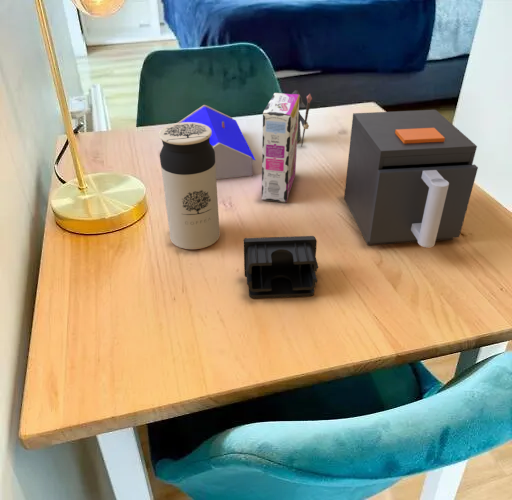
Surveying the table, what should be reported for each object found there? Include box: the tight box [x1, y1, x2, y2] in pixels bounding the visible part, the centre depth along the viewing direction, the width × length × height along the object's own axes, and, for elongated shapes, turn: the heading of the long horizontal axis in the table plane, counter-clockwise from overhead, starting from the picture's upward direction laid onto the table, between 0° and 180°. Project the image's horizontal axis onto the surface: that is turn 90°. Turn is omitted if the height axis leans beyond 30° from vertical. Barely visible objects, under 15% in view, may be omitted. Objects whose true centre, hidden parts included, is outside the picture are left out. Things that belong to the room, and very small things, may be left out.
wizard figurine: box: [291, 89, 313, 147], centre depth 110 cm, size 8×6×12 cm
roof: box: [177, 104, 256, 180], centre depth 105 cm, size 22×14×7 cm, turn 12°
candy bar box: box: [261, 92, 301, 203], centre depth 91 cm, size 11×5×16 cm, turn 168°
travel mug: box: [158, 122, 221, 250], centre depth 77 cm, size 8×8×18 cm
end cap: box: [243, 235, 319, 299], centre depth 70 cm, size 10×7×7 cm
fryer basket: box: [368, 164, 479, 249], centre depth 79 cm, size 20×14×12 cm
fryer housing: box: [343, 109, 478, 246], centre depth 82 cm, size 15×14×17 cm
